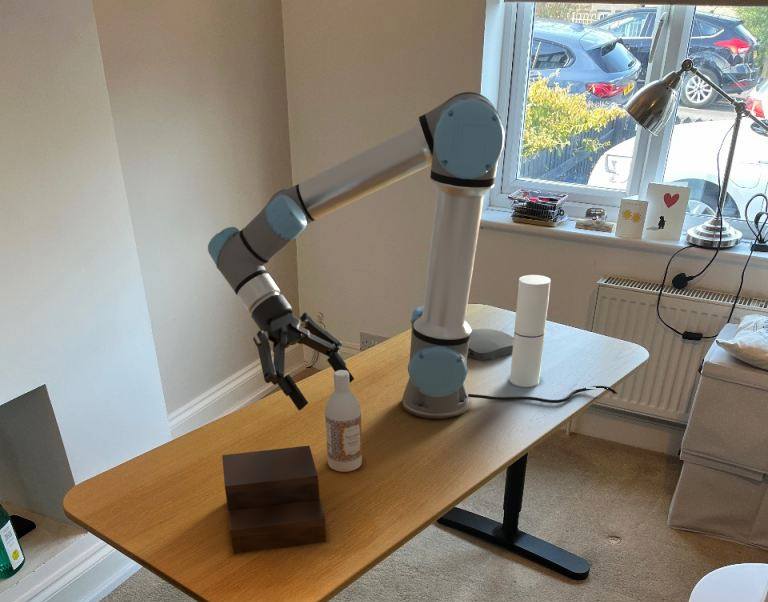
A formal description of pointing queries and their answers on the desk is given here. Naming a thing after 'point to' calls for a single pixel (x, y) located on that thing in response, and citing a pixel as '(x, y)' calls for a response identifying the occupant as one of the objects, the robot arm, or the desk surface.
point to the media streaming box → (489, 344)
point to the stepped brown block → (273, 499)
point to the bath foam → (343, 426)
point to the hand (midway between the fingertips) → (327, 394)
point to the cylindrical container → (529, 329)
